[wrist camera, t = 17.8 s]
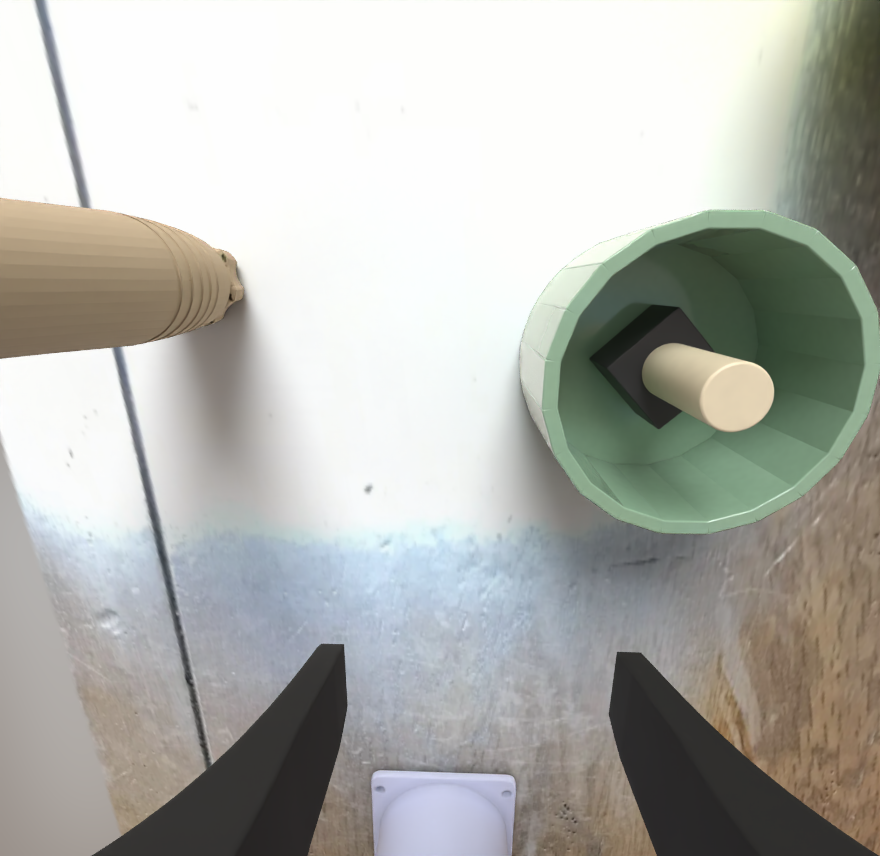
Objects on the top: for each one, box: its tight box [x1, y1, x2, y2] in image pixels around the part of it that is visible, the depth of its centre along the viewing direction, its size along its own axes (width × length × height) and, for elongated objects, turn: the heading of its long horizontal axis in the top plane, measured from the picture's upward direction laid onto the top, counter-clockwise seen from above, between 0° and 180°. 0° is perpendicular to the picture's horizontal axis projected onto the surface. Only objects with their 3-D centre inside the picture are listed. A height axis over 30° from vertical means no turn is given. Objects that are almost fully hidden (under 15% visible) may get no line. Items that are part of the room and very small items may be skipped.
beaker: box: [519, 210, 880, 534], centre depth 18 cm, size 10×10×6 cm
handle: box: [0, 198, 244, 359], centre depth 13 cm, size 5×6×15 cm
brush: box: [589, 304, 774, 432], centre depth 17 cm, size 3×3×7 cm
